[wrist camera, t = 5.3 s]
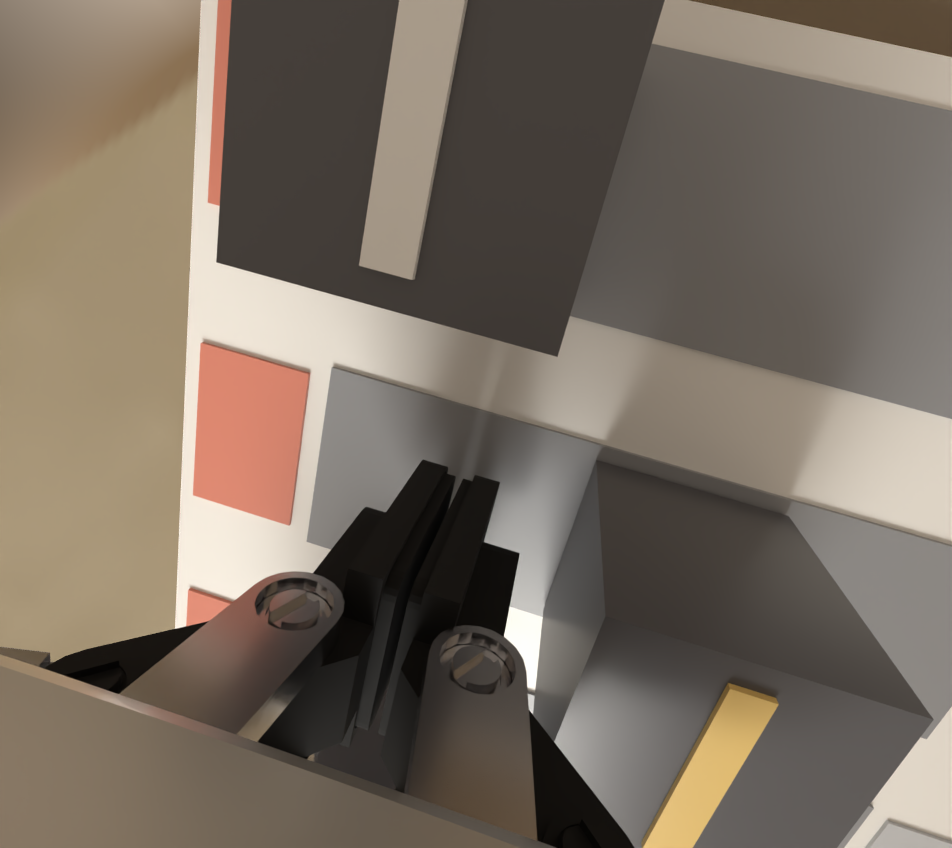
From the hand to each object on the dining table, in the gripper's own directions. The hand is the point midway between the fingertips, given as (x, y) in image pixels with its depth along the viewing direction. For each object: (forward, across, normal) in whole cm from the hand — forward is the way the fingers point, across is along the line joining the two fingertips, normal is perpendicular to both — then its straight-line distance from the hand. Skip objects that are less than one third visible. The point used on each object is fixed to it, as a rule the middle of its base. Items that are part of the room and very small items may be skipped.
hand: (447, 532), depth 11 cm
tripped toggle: (+1, -5, 0) cm, 5 cm away
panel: (+3, -4, 0) cm, 5 cm away
